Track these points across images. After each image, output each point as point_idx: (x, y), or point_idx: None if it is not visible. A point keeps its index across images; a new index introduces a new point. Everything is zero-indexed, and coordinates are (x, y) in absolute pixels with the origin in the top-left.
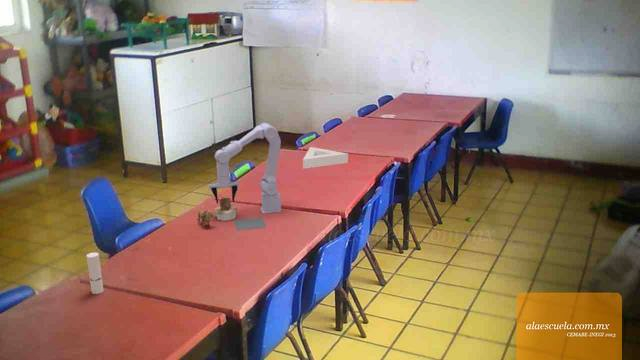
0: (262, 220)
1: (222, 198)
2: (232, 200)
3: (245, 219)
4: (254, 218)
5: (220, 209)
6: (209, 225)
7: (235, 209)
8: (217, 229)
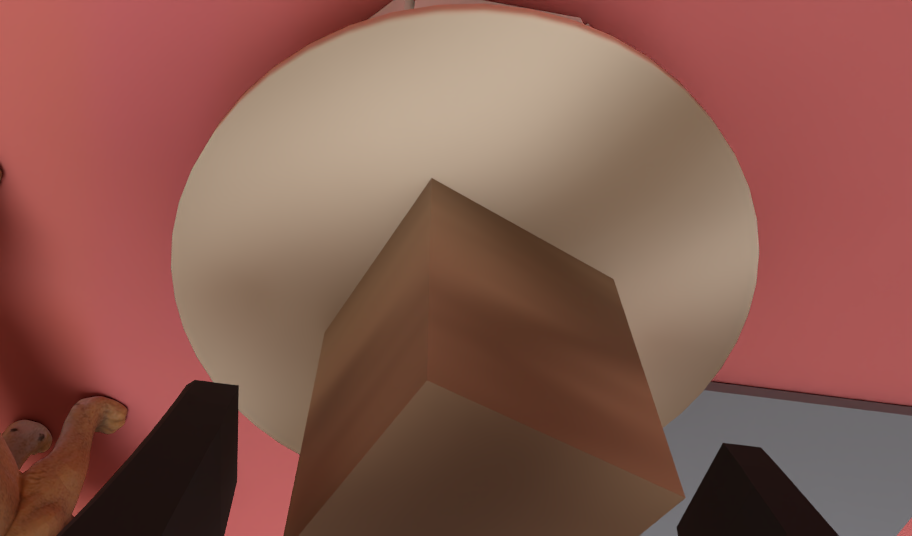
0: (891, 519)
1: (415, 441)
2: (699, 505)
3: (713, 416)
4: (852, 429)
5: (323, 346)
6: (108, 428)
7: (657, 407)
8: (227, 524)
